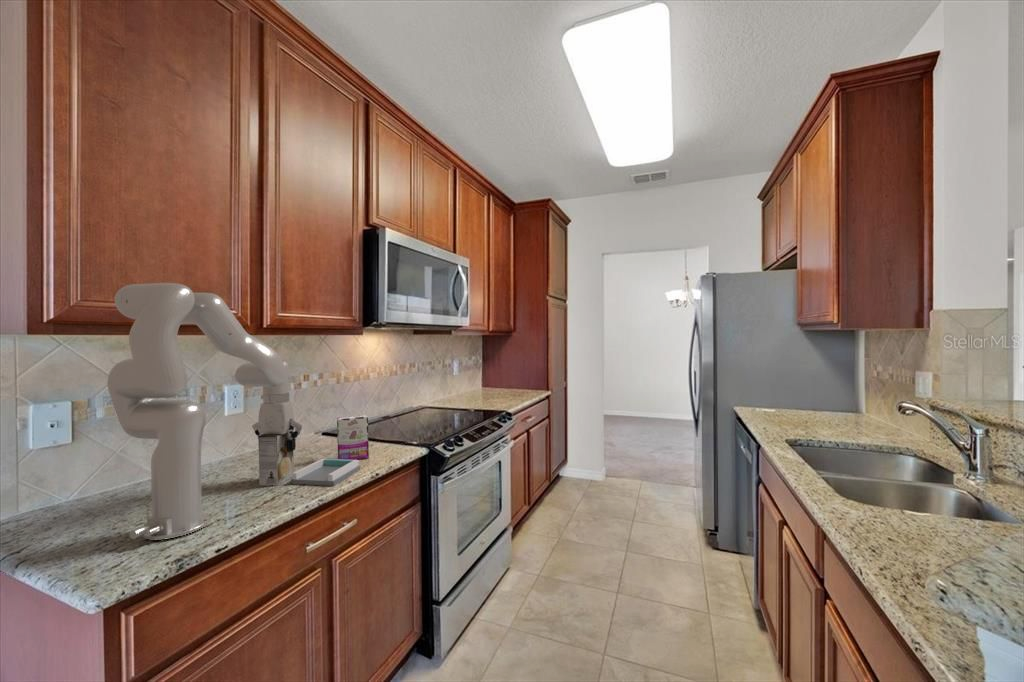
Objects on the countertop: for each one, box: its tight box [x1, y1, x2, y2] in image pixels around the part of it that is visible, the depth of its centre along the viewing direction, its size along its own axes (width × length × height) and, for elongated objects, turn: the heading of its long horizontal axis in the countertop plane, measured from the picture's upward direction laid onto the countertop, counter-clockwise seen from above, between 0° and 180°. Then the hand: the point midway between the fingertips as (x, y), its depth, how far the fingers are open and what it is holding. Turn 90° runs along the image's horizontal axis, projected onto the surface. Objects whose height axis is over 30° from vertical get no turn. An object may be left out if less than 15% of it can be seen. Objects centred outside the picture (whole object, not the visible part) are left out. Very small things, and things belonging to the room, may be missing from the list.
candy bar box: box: [336, 414, 370, 460], centre depth 157 cm, size 11×5×16 cm, turn 115°
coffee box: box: [257, 434, 295, 487], centre depth 134 cm, size 9×6×16 cm
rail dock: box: [290, 458, 361, 487], centre depth 137 cm, size 16×15×4 cm
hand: (277, 450), depth 134 cm, fingers open, 9 cm apart
